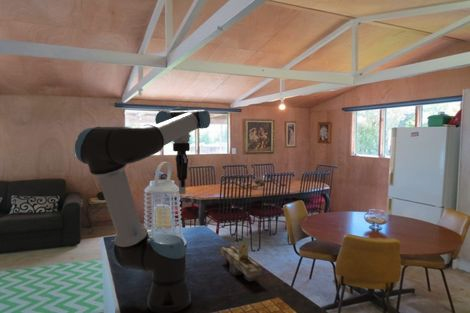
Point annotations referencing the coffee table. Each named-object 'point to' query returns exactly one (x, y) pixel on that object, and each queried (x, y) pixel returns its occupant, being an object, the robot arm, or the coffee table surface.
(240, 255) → the rider
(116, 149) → the robot arm
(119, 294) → the coffee table surface
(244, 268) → the stand
